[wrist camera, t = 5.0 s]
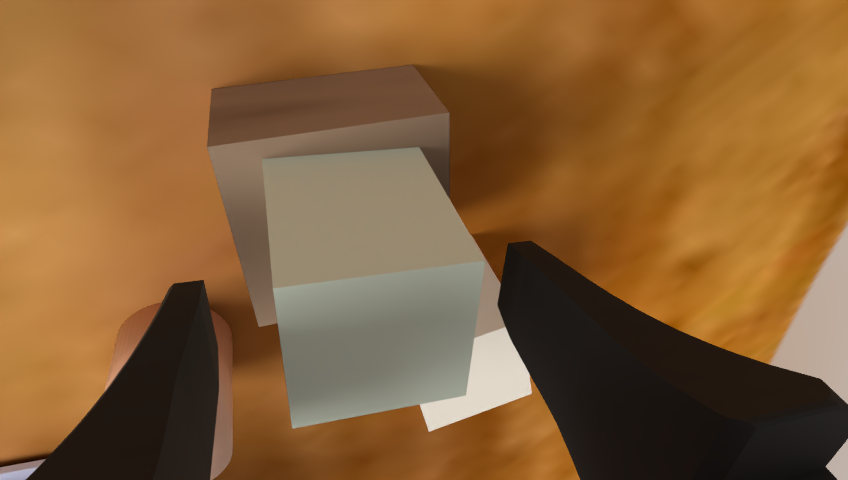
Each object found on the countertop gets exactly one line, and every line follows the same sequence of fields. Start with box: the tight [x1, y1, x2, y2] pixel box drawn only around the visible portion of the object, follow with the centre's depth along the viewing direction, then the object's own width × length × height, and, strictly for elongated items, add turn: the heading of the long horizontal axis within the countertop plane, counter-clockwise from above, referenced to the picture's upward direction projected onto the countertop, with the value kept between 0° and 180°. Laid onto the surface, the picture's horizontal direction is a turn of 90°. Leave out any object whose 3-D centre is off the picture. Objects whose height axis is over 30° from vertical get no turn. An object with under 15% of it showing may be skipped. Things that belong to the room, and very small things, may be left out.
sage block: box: [262, 147, 485, 429], centre depth 13 cm, size 4×4×5 cm
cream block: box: [420, 235, 532, 432], centre depth 21 cm, size 4×4×5 cm
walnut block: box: [207, 65, 450, 327], centre depth 17 cm, size 6×6×4 cm
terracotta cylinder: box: [104, 303, 233, 480], centre depth 19 cm, size 4×4×5 cm
